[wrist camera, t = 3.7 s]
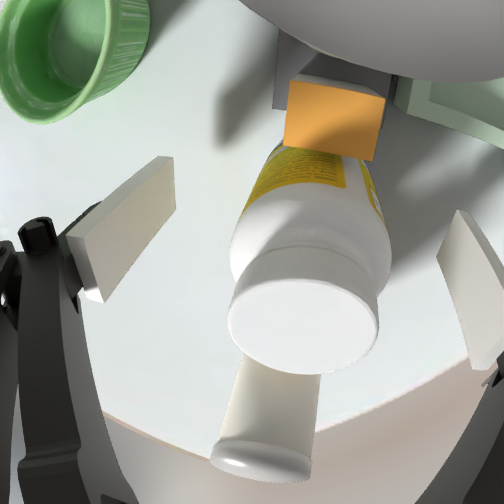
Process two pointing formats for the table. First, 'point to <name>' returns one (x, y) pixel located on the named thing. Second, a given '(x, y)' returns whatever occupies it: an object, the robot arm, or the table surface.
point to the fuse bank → (346, 144)
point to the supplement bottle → (309, 263)
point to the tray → (456, 105)
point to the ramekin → (67, 52)
